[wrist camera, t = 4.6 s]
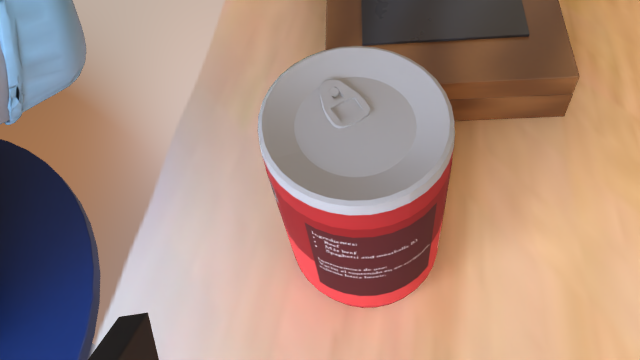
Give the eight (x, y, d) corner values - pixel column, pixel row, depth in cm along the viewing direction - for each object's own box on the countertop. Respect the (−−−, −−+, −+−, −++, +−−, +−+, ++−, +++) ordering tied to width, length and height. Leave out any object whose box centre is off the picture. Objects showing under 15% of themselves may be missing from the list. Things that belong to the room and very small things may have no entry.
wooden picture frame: (329, 126, 37) (324, 86, 33) (332, -42, 45) (328, -87, 42) (564, 116, 35) (581, 74, 32) (521, -56, 44) (531, -102, 41)
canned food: (360, 158, 35) (349, 16, 26) (468, 241, 32) (501, 113, 22) (264, 243, 33) (214, 121, 23) (369, 344, 29) (359, 248, 20)
